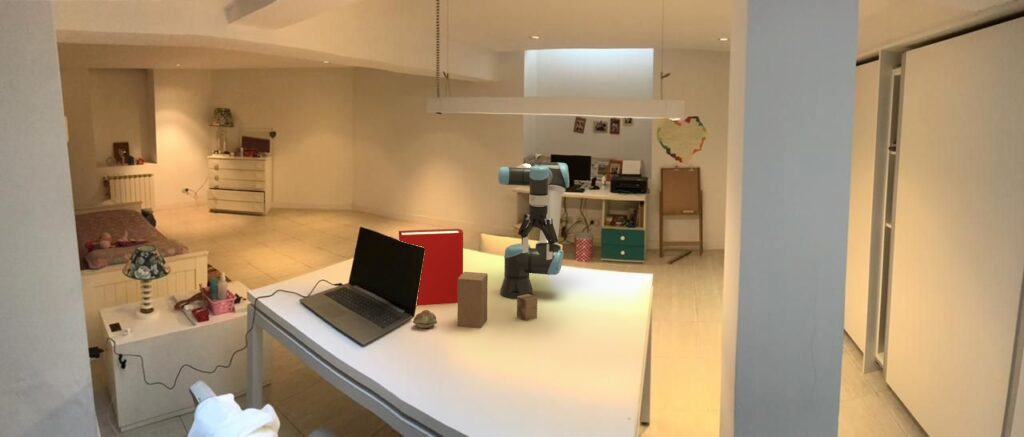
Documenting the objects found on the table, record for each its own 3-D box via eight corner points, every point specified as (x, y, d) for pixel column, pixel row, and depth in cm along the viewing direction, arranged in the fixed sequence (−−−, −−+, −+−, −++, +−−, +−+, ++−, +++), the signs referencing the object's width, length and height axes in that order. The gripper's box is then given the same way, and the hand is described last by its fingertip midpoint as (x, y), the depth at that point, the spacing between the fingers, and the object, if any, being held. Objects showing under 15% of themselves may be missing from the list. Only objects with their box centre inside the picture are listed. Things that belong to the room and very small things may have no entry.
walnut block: (516, 316, 262) (517, 296, 260) (527, 314, 265) (528, 293, 263) (525, 321, 257) (526, 300, 255) (536, 318, 261) (537, 297, 259)
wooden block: (481, 328, 248) (481, 280, 244) (457, 326, 250) (457, 278, 246) (487, 319, 258) (487, 273, 254) (463, 317, 260) (464, 271, 256)
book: (401, 306, 271) (400, 234, 265) (400, 300, 279) (398, 230, 273) (463, 302, 278) (463, 232, 272) (460, 296, 286) (460, 228, 279)
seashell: (437, 331, 246) (435, 322, 254) (438, 314, 244) (435, 306, 252) (414, 332, 244) (411, 323, 251) (414, 315, 242) (412, 307, 249)
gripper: (510, 201, 258) (509, 251, 262) (555, 210, 240) (553, 263, 245) (522, 199, 263) (521, 248, 267) (568, 208, 246) (566, 260, 250)
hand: (537, 255), depth 256 cm, fingers open, 13 cm apart
